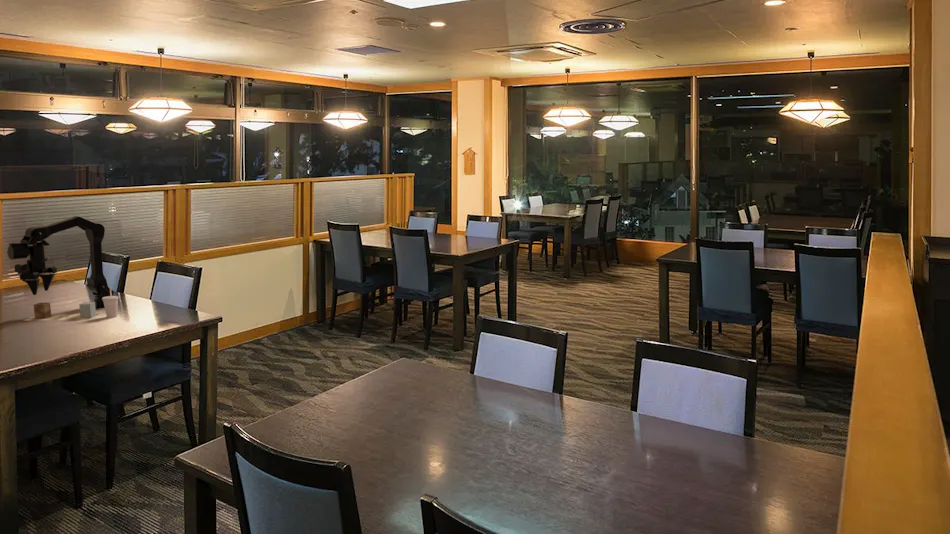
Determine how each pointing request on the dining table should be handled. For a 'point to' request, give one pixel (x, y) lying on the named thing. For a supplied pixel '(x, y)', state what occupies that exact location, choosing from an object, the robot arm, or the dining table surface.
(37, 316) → the walnut block
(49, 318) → the board
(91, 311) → the slate block
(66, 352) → the dining table surface
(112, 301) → the smoothie
